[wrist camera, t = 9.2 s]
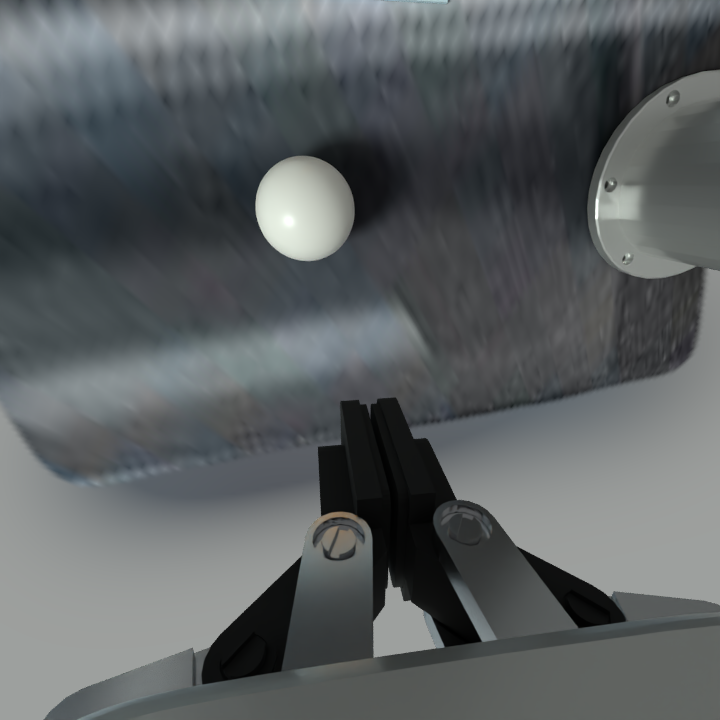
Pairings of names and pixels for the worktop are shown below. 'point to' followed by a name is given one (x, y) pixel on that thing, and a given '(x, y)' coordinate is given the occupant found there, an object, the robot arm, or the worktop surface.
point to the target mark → (424, 1)
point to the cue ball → (305, 208)
